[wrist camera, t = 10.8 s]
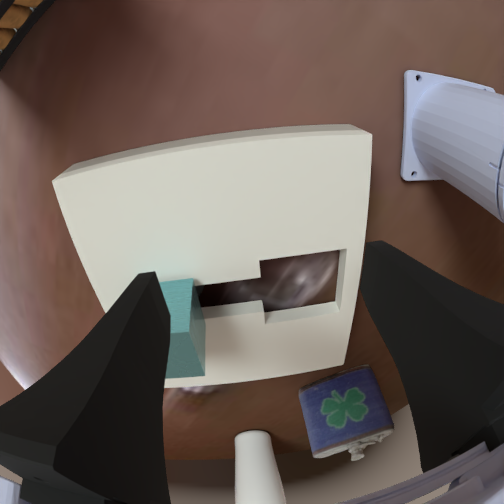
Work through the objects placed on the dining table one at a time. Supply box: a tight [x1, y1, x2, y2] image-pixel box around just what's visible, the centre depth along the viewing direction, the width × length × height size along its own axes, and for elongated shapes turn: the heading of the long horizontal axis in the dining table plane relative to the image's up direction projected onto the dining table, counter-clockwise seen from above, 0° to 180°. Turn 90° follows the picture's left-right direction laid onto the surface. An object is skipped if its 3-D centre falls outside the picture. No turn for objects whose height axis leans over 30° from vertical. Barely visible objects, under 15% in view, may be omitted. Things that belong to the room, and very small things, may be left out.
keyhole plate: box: [52, 124, 372, 388], centre depth 21 cm, size 18×20×3 cm
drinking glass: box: [235, 430, 286, 504], centre depth 33 cm, size 7×7×15 cm
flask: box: [299, 365, 394, 461], centre depth 28 cm, size 9×3×11 cm, turn 110°
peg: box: [159, 278, 206, 379], centre depth 19 cm, size 4×4×8 cm
